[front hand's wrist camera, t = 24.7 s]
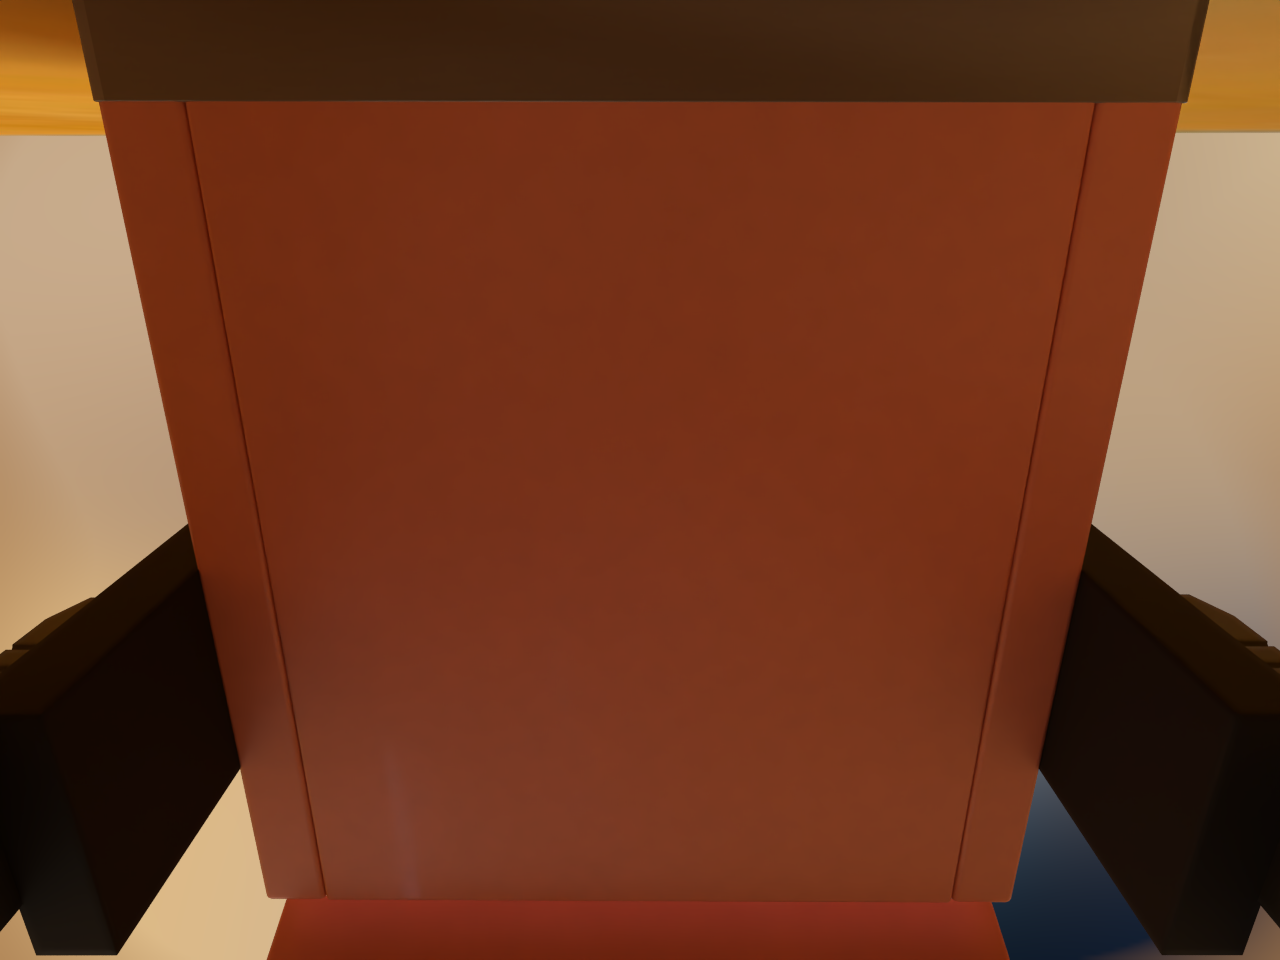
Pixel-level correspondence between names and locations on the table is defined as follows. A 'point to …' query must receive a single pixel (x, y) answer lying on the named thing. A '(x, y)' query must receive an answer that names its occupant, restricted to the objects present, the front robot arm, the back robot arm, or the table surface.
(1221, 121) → the table surface
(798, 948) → the lid
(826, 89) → the chest
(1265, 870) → the front robot arm
